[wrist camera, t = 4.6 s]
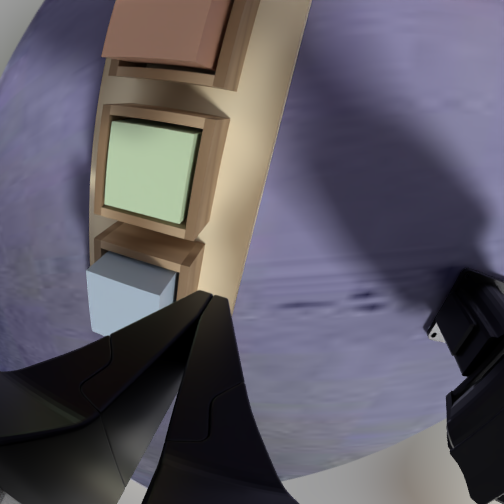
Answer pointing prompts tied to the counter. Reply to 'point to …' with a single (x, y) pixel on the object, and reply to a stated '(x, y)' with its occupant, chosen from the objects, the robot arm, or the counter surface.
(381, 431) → the counter surface
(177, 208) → the sage key
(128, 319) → the pale blue square block
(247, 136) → the beige wooden block tray
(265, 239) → the counter surface
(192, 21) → the terracotta key
